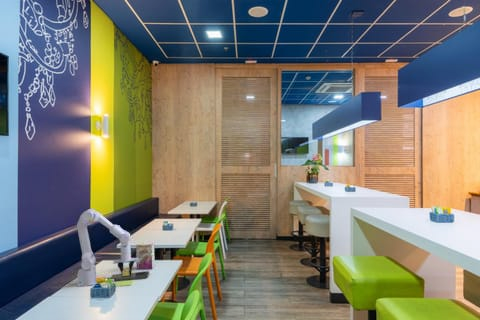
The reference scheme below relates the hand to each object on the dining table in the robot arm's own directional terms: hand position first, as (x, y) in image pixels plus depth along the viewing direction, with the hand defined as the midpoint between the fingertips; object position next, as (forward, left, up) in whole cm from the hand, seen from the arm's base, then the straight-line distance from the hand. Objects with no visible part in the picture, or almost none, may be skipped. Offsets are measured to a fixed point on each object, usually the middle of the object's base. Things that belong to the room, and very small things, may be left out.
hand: (126, 274), depth 185 cm
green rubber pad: (0, -8, -3) cm, 9 cm away
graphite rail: (+2, 0, -3) cm, 3 cm away
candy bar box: (+9, +16, -3) cm, 19 cm away
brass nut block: (0, 0, -3) cm, 3 cm away
